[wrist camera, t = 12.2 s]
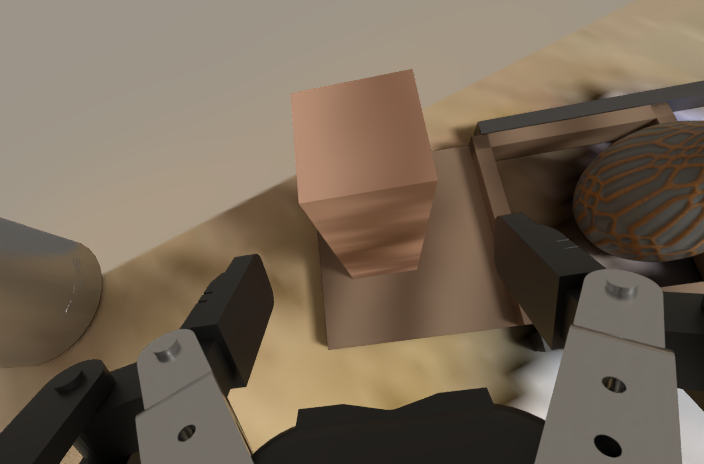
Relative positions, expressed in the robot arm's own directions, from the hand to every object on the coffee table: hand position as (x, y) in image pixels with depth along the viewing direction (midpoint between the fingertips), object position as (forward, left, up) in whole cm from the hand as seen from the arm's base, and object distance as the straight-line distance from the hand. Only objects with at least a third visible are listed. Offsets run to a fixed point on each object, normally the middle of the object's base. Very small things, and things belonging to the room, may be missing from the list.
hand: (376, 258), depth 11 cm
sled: (+8, +3, -10) cm, 13 cm away
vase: (+15, +3, -11) cm, 19 cm away
